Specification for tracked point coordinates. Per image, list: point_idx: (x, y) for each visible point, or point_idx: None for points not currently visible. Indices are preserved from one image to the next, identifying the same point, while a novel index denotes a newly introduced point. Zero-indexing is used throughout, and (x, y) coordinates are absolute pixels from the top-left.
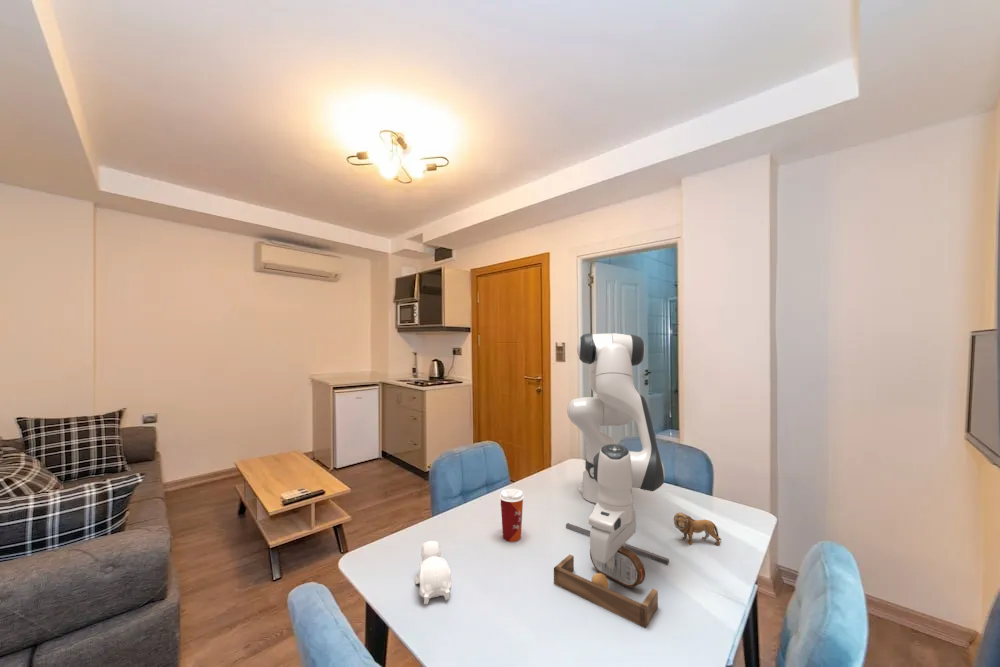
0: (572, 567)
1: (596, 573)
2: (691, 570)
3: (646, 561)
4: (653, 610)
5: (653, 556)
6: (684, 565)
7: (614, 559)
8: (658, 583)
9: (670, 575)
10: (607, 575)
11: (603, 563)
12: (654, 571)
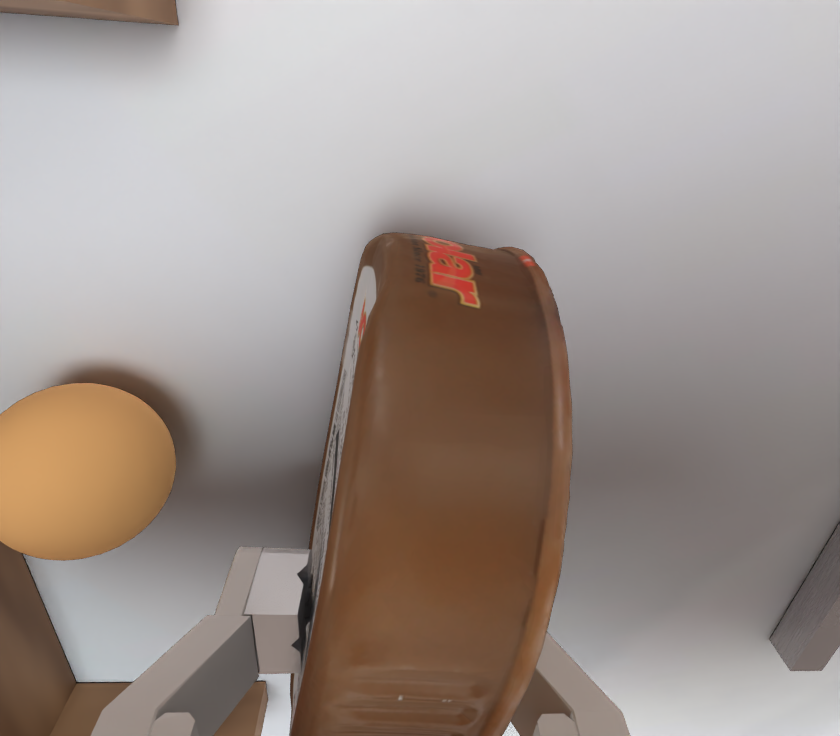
0: (111, 17)
1: (45, 477)
2: (755, 721)
3: (770, 542)
4: None
5: (830, 595)
6: (801, 693)
7: (229, 712)
8: None
9: (645, 671)
10: (331, 421)
11: (340, 437)
12: (648, 607)
